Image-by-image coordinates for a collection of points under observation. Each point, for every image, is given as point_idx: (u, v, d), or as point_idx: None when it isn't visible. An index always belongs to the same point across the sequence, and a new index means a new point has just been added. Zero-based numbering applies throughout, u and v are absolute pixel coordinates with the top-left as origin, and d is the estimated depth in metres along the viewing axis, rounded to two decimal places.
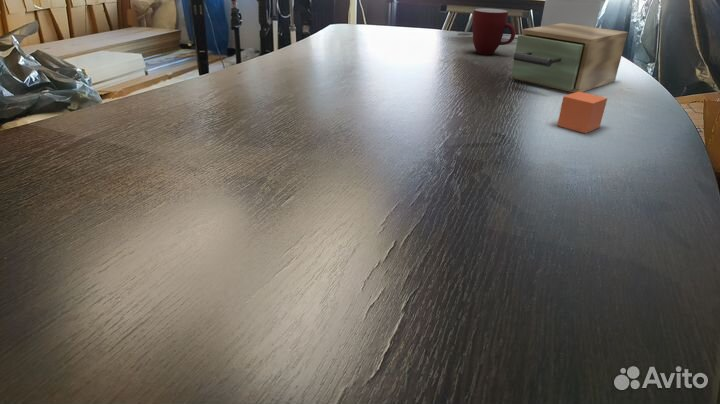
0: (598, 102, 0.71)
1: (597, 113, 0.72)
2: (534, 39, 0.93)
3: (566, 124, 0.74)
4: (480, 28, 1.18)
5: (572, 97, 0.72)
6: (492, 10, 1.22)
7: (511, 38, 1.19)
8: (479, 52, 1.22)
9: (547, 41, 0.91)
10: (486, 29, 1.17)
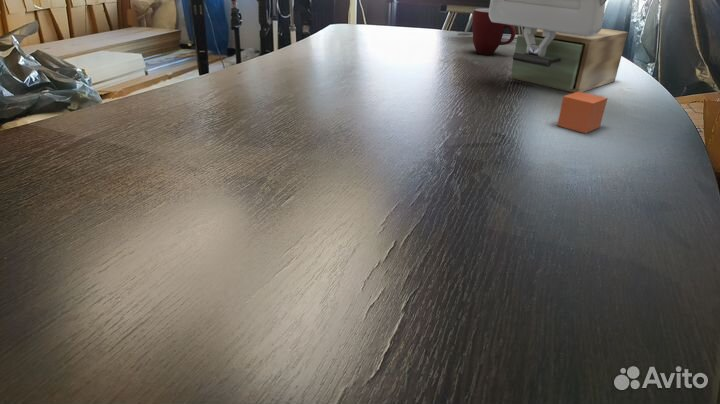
0: (598, 102, 0.71)
1: (597, 113, 0.72)
2: None
3: (566, 124, 0.74)
4: (480, 28, 1.18)
5: (572, 97, 0.72)
6: None
7: (511, 38, 1.19)
8: (479, 52, 1.22)
9: None
10: (486, 29, 1.17)
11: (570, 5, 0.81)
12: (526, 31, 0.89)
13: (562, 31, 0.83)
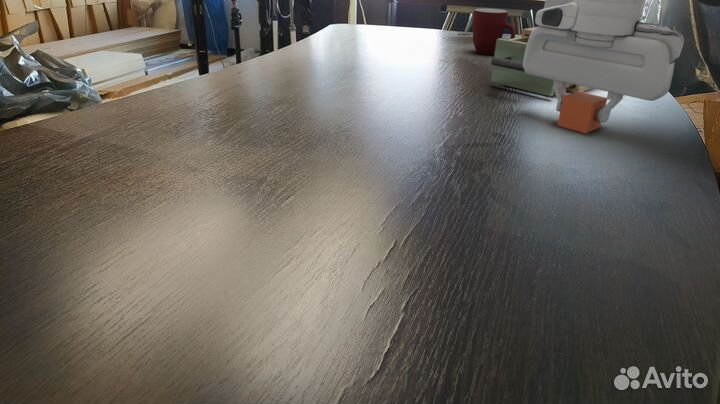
0: (598, 102, 0.71)
1: None
2: (513, 43, 0.88)
3: (566, 124, 0.74)
4: (480, 28, 1.18)
5: (572, 97, 0.72)
6: (492, 10, 1.22)
7: (511, 38, 1.19)
8: (479, 52, 1.22)
9: (526, 45, 0.87)
10: (486, 29, 1.17)
11: (630, 62, 0.65)
12: (557, 84, 0.74)
13: (618, 92, 0.67)
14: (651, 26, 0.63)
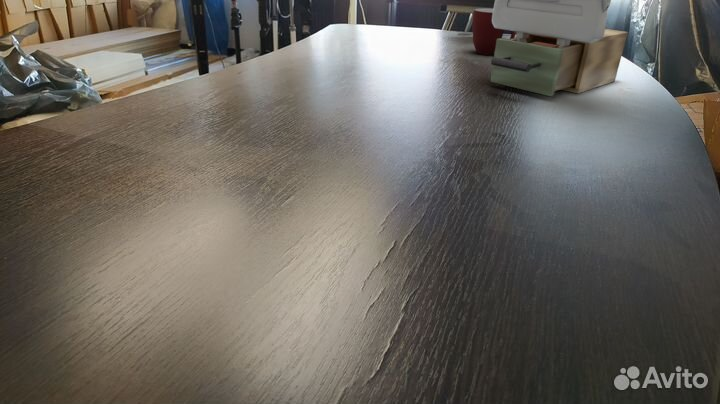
0: None
1: None
2: (513, 43, 0.88)
3: None
4: (480, 28, 1.18)
5: None
6: (492, 10, 1.22)
7: (511, 38, 1.19)
8: (479, 52, 1.22)
9: (526, 45, 0.87)
10: (486, 29, 1.17)
11: (572, 12, 0.82)
12: (519, 35, 0.91)
13: (564, 38, 0.84)
14: None
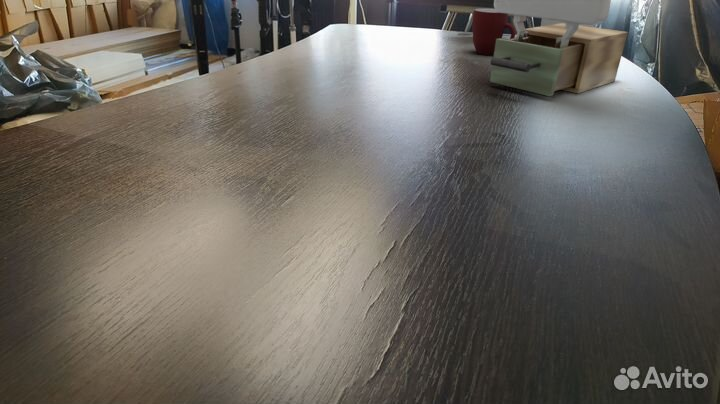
0: None
1: None
2: (513, 43, 0.88)
3: None
4: (480, 28, 1.18)
5: None
6: (492, 10, 1.22)
7: (511, 38, 1.19)
8: (479, 52, 1.22)
9: (526, 45, 0.87)
10: (486, 29, 1.17)
11: None
12: (516, 18, 0.91)
13: (568, 20, 0.83)
14: None
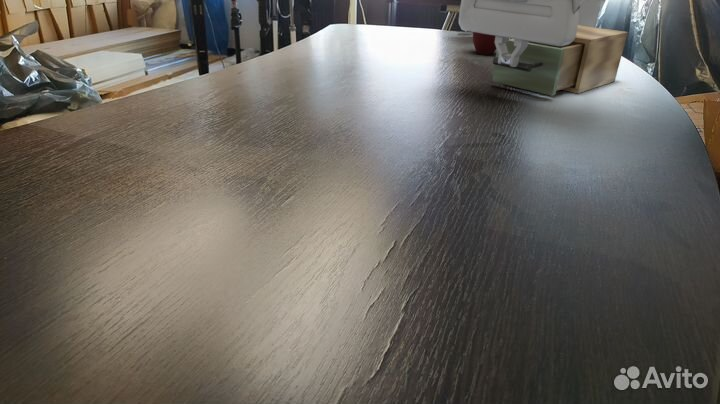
0: None
1: None
2: None
3: None
4: None
5: None
6: None
7: (511, 38, 1.19)
8: (479, 52, 1.22)
9: (528, 45, 0.87)
10: None
11: (541, 13, 0.76)
12: (497, 39, 0.84)
13: (534, 41, 0.78)
14: None
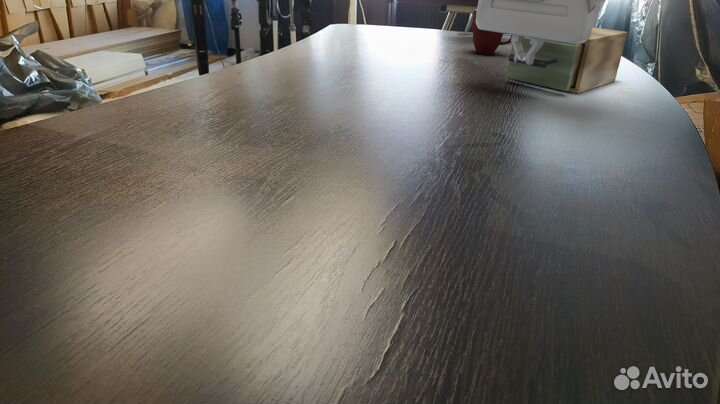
0: None
1: None
2: None
3: None
4: None
5: None
6: None
7: None
8: (479, 52, 1.22)
9: None
10: None
11: (557, 12, 0.79)
12: (514, 38, 0.87)
13: (550, 39, 0.81)
14: None
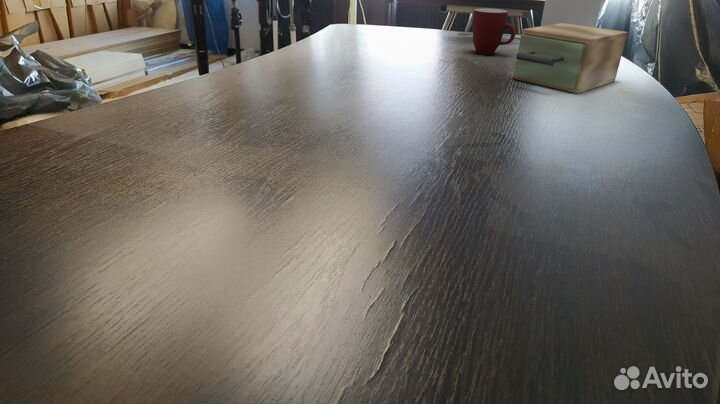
0: None
1: None
2: (537, 38, 0.93)
3: None
4: (480, 28, 1.18)
5: None
6: (492, 10, 1.22)
7: (511, 38, 1.19)
8: (479, 52, 1.22)
9: (550, 40, 0.91)
10: (486, 29, 1.17)
11: None
12: None
13: None
14: None
